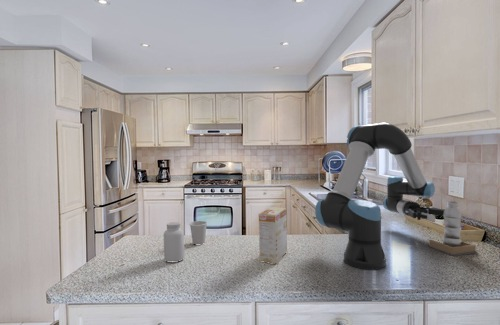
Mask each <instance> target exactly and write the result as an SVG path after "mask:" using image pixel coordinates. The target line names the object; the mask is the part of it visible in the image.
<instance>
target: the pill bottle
mask: <svg viewBox="0 0 500 325" xmlns="http://www.w3.org/2000/svg"><path fill="white" fill-rule="evenodd" d="M184 237H185V234H184V230H183V229H181V222H178V221H175V222H174V221H172V222H168V223H167V224H166V230H165V231H164V232H163V254H164V261H165V260H166V261H179V260H181V259H183V258H184V259H185V238H184ZM184 259H183V260H184Z"/></svg>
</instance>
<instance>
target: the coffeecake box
mask: <svg viewBox="0 0 500 325" xmlns="http://www.w3.org/2000/svg"><path fill="white" fill-rule="evenodd" d="M287 229H288V228H287V207H279V206H270V207H269V208H267V209H265V210H264V211H261V212H260V213H258V234H259V235H258V240H259V262H260V261H264V262H269V263H274V264H275V263H276V264H278V262H280V260H281V259H282V258H283V257H284V256H285V255H286V254H287V253H288V230H287ZM286 252H287V253H286ZM285 253H286V254H285ZM284 254H285V255H284ZM283 255H284V256H283ZM282 256H283V257H282ZM281 257H282V258H281ZM269 263H268V264H269ZM274 264H273V265H274ZM276 264H275V265H276Z"/></svg>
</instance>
